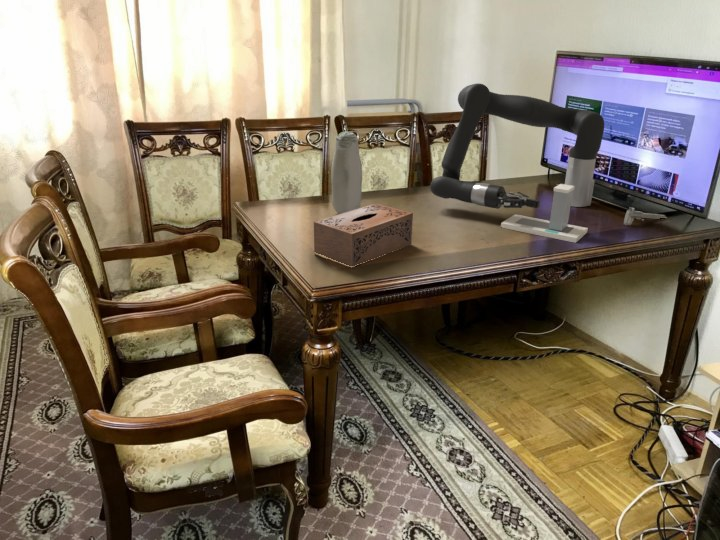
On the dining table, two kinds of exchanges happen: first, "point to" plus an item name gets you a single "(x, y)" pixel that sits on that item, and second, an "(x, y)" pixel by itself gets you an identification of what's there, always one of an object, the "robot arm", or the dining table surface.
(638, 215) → the caliper
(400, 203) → the dining table surface
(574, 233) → the switch panel
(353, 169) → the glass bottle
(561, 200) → the switch tab
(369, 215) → the tissue box cover
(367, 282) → the dining table surface
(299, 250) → the dining table surface
